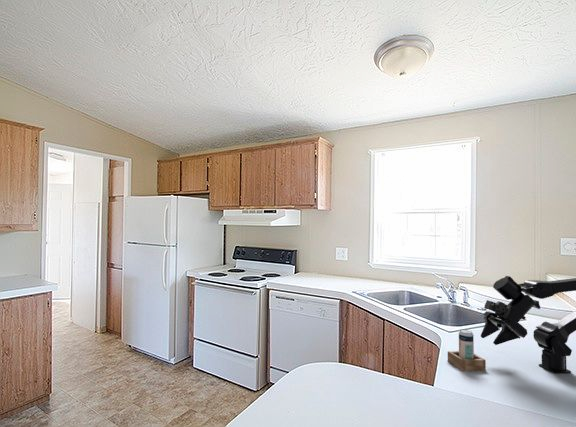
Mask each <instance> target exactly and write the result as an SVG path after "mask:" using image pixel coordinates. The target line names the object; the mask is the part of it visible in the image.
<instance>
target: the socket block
mask: <svg viewBox="0 0 576 427" xmlns="http://www.w3.org/2000/svg"><path fill="white" fill-rule="evenodd" d="M447 362H448V363H450V364H451V365H453V366H454V367H456V368H457V369H459V370H461V371H462V372H470V371H471V372H472V371H473V372H474V371H475V372H476V371H487V370H486V367H487V366H486V364H487V363H486V362H487V361H486V359H485V358H483V357H481V356H479V355H478V354H476V353H474V359H462V358H460V357H459V350H453V351H452V350H451V351H447Z"/></svg>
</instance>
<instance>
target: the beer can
mask: <svg viewBox="0 0 576 427" xmlns="http://www.w3.org/2000/svg"><path fill="white" fill-rule="evenodd" d="M474 336H475V335H474V333H473V332H472V330H468V329H459V331H458V351H459V357H460V358H462V359H474V354H475V352H474V351H475V350H474V349H475V348H474V347H475V346H474V344H475V343H474Z"/></svg>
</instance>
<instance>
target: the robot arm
mask: <svg viewBox="0 0 576 427" xmlns="http://www.w3.org/2000/svg"><path fill="white" fill-rule="evenodd" d="M492 287H493V289H494V290H495V291H497V293H499V294H500V295H501V296H502V297H503V298H504V299H505V300H508V301H509V300H511V301H510V302H508V304H506V303H505V302H503V301H497V302H495V301H492V300H486V301H485V304H484V307H483V308H484V309H486V310H487V311H485V312H484V313H483V314H482V316H483V319H484V323H485V324H484V326H483V330H482V331H481V334H480V337H481V338H482V339H485V338H487V337H489V336H491V335H493V334H494V333H497V332H499V331H500V332H499V333H498V334H497V336H496V337H495V338H494V340H493V344H494V345H495V346H497V345H501V344H503V343H507V342H510V341H513V340H517V339H519V340H520V339H521V338H522V339H524V338H526V336H527V335H528V329H526V328H525V327H524V326H523V325H522V324H521V323H519V322H520V321H521V320H524V321H525V320H526V319H527V317H526V316H525V315H526V314H527V313H529V311H530V310H531V309H532V308H535V309H537V310H540V309H541V305H540V301H539V300H541V299H542V300H544V299H547V298H551V297H553V296H554V295H556V294H559V293H568V292H574V291H575V292H576V277H574V278H573V277H572V278H565V279H559V280H556V279H555V280H538V279H528V280H527V279H526V280H525V281H524V282H523V283H517V282H516V281H515V280H514V279H513V277H511V276H510V275H505V277H502V278H500V279H498V280H496V281H495V282H494V283H493V286H492ZM533 297H534V298H536V299H539V300H536V299H533ZM488 310H489V311H488ZM500 328H501V329H500ZM575 332H576V309H575V310H574V311H572V312H570V313H569V314H568V315H566V316H565V317H563V318H561V319H560V320H558V321H557V322H555V323H550V322H548V321H543V322H542V323H541V324H540V325H538V326H535V329H534V330H533V340H534V341H535V342H536V343H537V345H538V348H542V350H541V363H539V364H538V366H539V367H541V368H542V369H543V368H544V369H545V370H548V371H550V372H552V373H555V374H563V373H566V374H568V373H572V371H571V370H570V369H567V357H570V356H571V355H572V352H573V350H572V349H571V348H570V347H569V346H568V344H567V343H568V340H569V336H570V335H571V334H573V333H575Z"/></svg>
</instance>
